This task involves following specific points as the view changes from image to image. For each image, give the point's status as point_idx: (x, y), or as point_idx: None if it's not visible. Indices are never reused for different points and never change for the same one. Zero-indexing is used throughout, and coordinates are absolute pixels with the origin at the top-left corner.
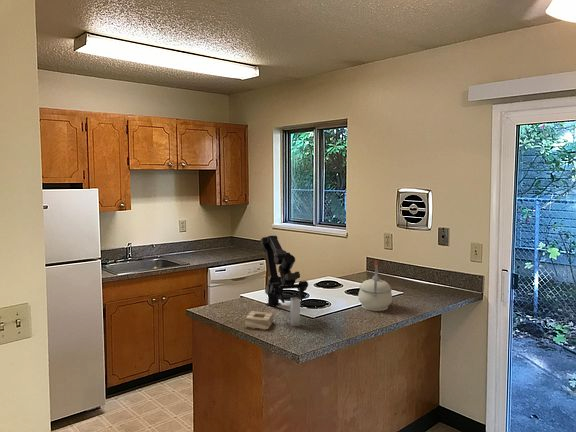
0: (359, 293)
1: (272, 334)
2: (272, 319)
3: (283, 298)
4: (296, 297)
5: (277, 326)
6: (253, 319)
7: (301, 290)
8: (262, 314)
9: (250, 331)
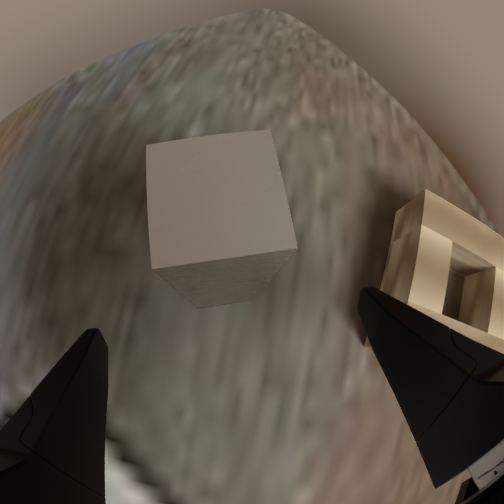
0: None
1: (370, 145)
2: None
3: (396, 310)
4: (179, 248)
5: (343, 257)
6: (487, 228)
7: (16, 451)
8: (456, 321)
9: (460, 205)
